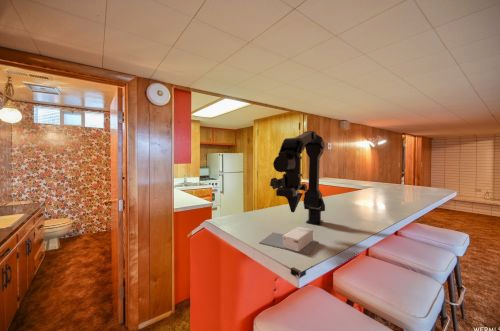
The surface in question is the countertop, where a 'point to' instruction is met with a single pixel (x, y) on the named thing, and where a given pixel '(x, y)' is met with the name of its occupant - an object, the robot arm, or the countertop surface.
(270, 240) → the mat
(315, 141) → the robot arm
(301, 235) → the skincare box
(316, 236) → the countertop surface
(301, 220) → the countertop surface
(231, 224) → the countertop surface
